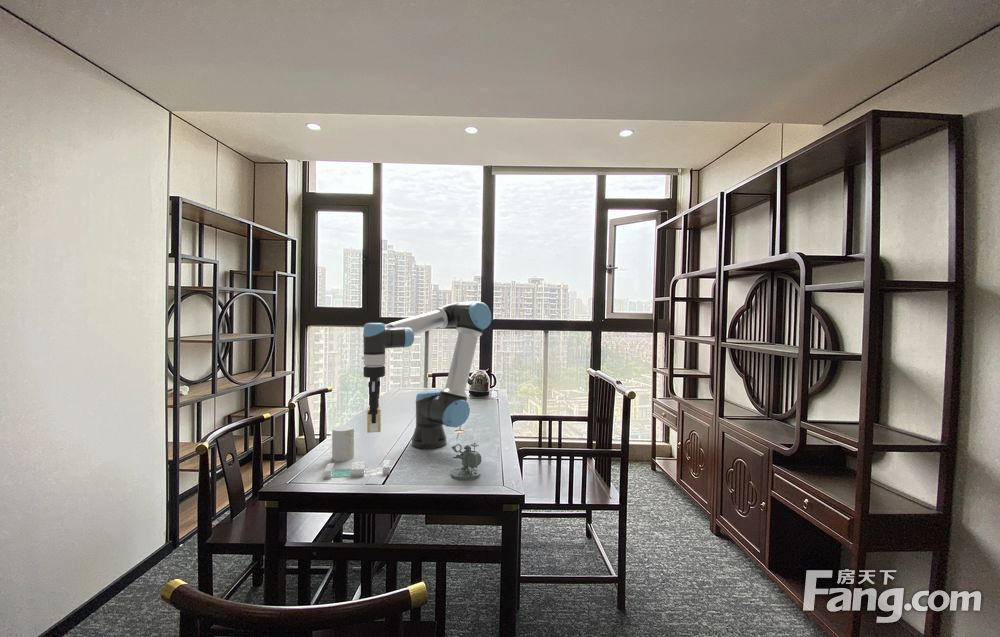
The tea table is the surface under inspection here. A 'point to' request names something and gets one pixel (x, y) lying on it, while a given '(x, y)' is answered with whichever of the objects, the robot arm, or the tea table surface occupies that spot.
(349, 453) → the cup
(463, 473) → the figurine
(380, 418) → the pale yellow tall block
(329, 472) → the rail
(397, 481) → the tea table surface
